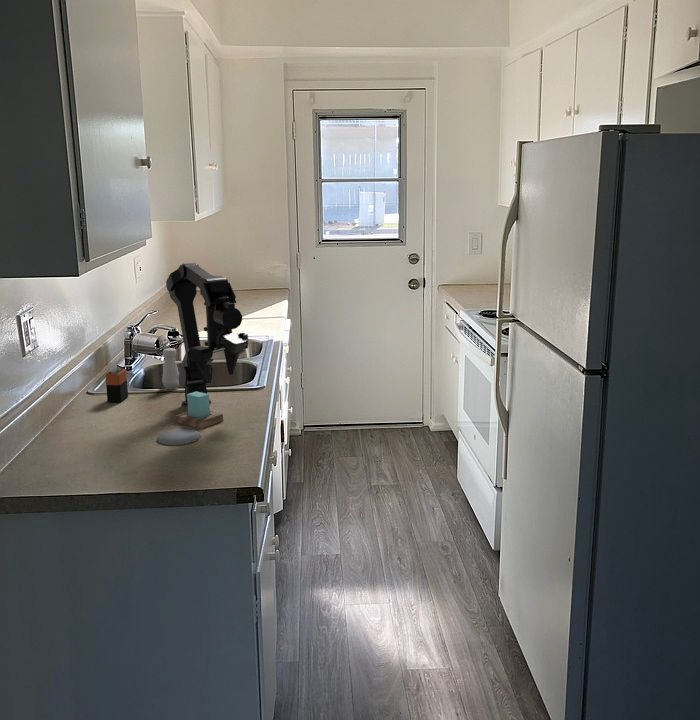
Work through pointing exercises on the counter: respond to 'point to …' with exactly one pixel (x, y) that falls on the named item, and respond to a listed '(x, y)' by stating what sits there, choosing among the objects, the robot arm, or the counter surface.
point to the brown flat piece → (199, 419)
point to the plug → (198, 404)
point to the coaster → (178, 437)
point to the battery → (116, 385)
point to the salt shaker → (170, 369)
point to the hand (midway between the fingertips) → (219, 378)
